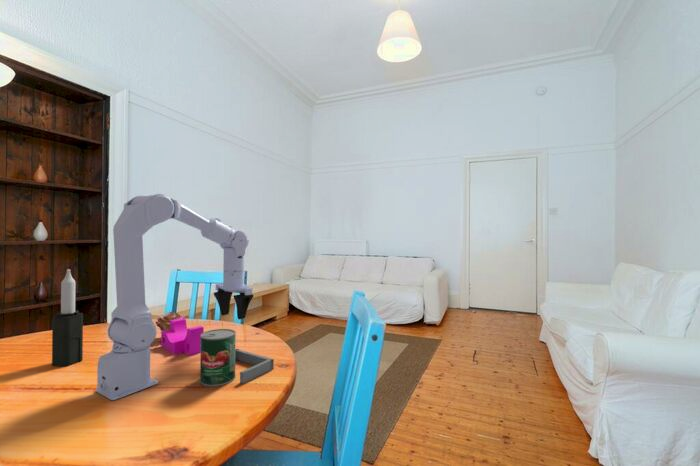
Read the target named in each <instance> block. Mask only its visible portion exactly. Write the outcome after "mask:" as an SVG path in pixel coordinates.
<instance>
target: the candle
mask: <svg viewBox="0 0 700 466" xmlns="http://www.w3.org/2000/svg"><path fill="white" fill-rule="evenodd" d="M60 284H61V285H60V311H59V312H57V313H56V315H53V316H52V334H51V336H52V337H51V338H52V339H51V341H52V343H51V345H52V346H51V347H52V348H51V366H53V367H59V368H65V367H70V366H72V365H74V364H77V363H80V362H82V361H83V355H84V354H83V349H84V346H83V345H84V344H83V343H84V341H83V339H84V337H83V335H84V331H83V329H84V313H83V312H80V310H76V280H75V279H74V278H73V276H72V272H71V269H69V268H67V269H66V273H65V276H64V278H63V280H62V281H61V283H60Z"/></svg>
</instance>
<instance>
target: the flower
mask: <svg viewBox="0 0 700 466" xmlns="http://www.w3.org/2000/svg"><path fill="white" fill-rule="evenodd" d="M187 317H188V316H187V314H184V315H183V312H182V313H178V312H175V313H174V312H172V311H169V312H167V313H165V314H164V315H163V314H160V315H158V317H157V319H156V320H157V321H155V325H156V329H157V330H160V332H157V333H159V334H160V333H161V332H162V331H167V330H170V320H175V319H180V318H183V319H186V318H187ZM157 327H158V328H157ZM157 333H156V334H157Z"/></svg>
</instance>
